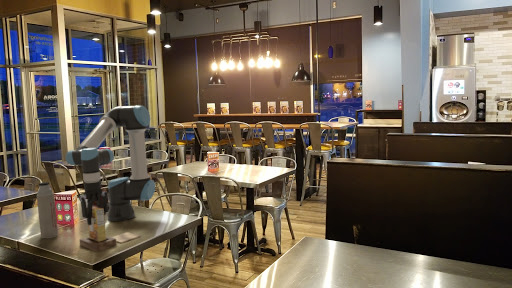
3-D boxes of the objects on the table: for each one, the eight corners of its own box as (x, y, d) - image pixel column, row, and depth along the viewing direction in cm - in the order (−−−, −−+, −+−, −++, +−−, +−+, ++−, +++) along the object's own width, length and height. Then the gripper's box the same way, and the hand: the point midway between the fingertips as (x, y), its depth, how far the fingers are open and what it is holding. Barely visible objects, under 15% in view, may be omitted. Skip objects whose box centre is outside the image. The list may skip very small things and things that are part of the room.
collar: (99, 239, 209) (98, 233, 208) (116, 245, 199) (115, 238, 199) (80, 245, 201) (79, 239, 201) (97, 251, 192) (96, 245, 191)
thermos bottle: (61, 233, 221) (56, 181, 218) (51, 238, 213) (45, 184, 210) (48, 233, 223) (42, 181, 220) (37, 238, 215) (31, 184, 212)
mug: (109, 203, 281) (107, 182, 277) (112, 212, 268) (111, 190, 265) (90, 206, 275) (88, 185, 271) (93, 215, 263) (91, 192, 259)
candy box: (88, 238, 202) (85, 207, 200) (97, 236, 205) (94, 205, 203) (98, 242, 196) (95, 210, 194) (107, 239, 199) (103, 207, 197)
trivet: (127, 233, 217) (127, 232, 217) (140, 236, 210) (140, 235, 210) (108, 239, 208) (108, 238, 208) (121, 243, 201) (120, 242, 201)
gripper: (104, 177, 206) (108, 223, 209) (70, 184, 193) (75, 233, 195) (113, 178, 201) (117, 225, 204) (78, 185, 188) (84, 236, 191)
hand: (97, 229), depth 200 cm, fingers closed on candy box, 4 cm apart
